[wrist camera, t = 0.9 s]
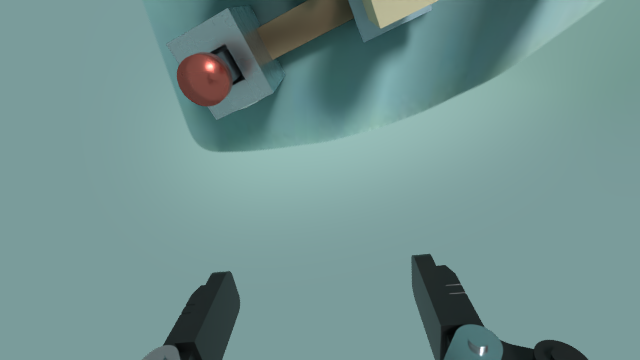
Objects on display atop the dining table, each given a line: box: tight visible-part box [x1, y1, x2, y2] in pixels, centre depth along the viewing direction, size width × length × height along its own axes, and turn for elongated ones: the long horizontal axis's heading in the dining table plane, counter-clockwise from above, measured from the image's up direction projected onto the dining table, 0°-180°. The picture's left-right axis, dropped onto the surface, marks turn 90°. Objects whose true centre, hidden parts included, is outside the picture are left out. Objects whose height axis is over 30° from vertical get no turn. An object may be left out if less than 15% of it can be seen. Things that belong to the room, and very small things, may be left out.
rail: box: [257, 0, 354, 60], centre depth 27 cm, size 5×16×2 cm, turn 115°
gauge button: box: [177, 49, 242, 106], centre depth 25 cm, size 4×4×7 cm
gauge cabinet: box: [166, 5, 285, 120], centre depth 28 cm, size 7×6×7 cm
